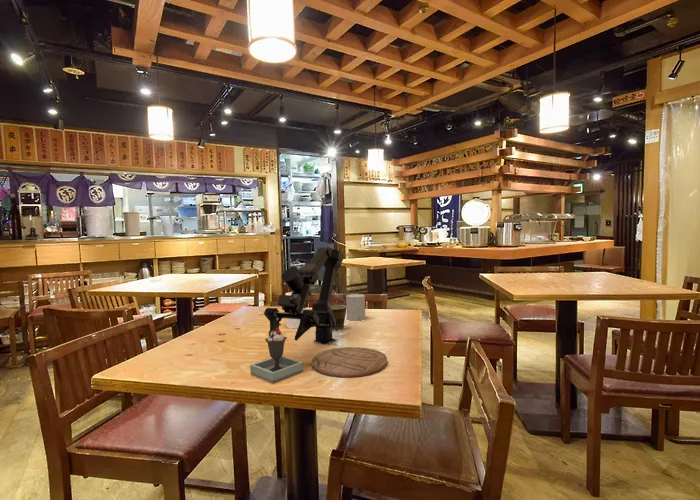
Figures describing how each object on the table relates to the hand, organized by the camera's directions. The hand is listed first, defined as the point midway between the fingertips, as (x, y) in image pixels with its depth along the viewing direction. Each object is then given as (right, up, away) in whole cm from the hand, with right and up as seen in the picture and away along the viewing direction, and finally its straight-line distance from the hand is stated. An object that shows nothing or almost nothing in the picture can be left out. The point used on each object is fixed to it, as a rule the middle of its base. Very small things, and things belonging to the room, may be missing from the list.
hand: (282, 338), depth 117 cm
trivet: (+22, -10, +4) cm, 24 cm away
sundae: (-1, -9, -3) cm, 10 cm away
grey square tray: (-1, -10, -4) cm, 11 cm away
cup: (-4, -8, +55) cm, 56 cm away
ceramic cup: (+15, -8, +48) cm, 51 cm away
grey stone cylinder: (+25, -7, +66) cm, 70 cm away
